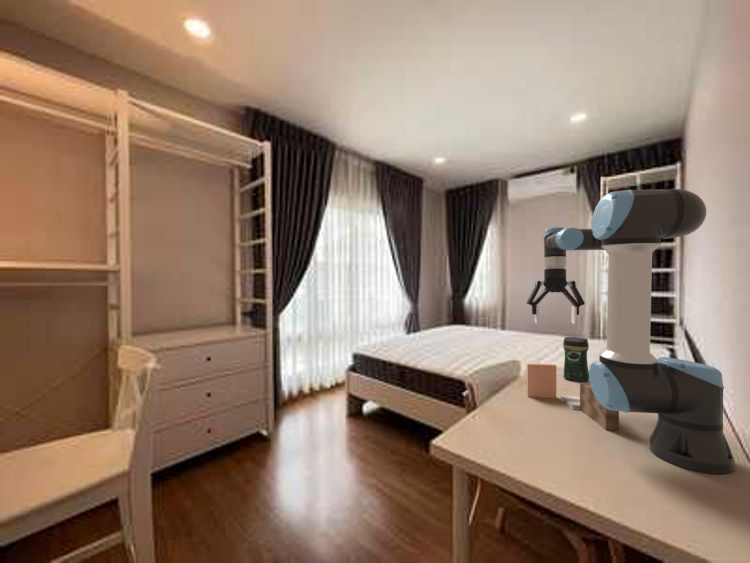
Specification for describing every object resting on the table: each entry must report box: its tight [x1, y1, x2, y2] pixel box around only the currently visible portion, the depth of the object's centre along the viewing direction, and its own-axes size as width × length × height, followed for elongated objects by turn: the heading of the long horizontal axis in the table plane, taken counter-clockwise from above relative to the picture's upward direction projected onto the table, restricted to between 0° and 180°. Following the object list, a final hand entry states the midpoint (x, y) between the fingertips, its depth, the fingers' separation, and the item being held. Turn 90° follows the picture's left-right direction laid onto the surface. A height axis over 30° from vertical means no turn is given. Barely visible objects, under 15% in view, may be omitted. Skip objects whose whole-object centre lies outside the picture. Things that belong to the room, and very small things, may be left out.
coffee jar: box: [562, 336, 590, 383], centre depth 150 cm, size 10×8×19 cm
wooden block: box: [560, 382, 620, 432], centre depth 111 cm, size 26×8×9 cm, turn 172°
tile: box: [526, 363, 557, 399], centre depth 127 cm, size 2×10×12 cm, turn 82°
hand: (555, 323), depth 132 cm, fingers open, 13 cm apart
